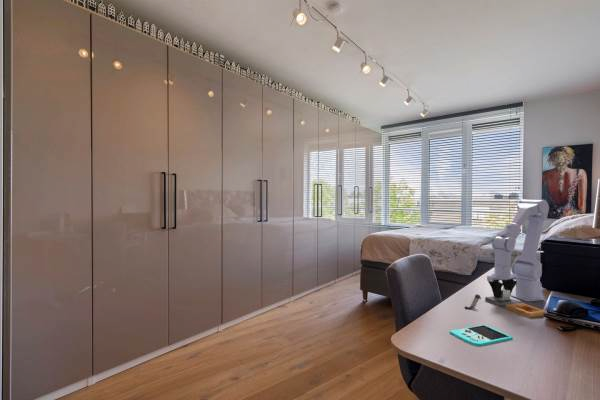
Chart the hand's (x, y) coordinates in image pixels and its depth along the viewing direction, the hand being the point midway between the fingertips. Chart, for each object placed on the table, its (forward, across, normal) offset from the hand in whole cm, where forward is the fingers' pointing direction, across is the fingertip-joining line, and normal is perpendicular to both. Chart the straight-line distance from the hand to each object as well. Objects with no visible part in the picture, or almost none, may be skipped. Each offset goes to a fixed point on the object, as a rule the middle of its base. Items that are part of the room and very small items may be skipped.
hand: (501, 297), depth 128 cm
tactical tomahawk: (+3, +11, -2) cm, 11 cm away
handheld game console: (+3, +35, +22) cm, 41 cm away
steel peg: (+2, 0, 0) cm, 2 cm away
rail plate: (+2, 0, +6) cm, 6 cm away
